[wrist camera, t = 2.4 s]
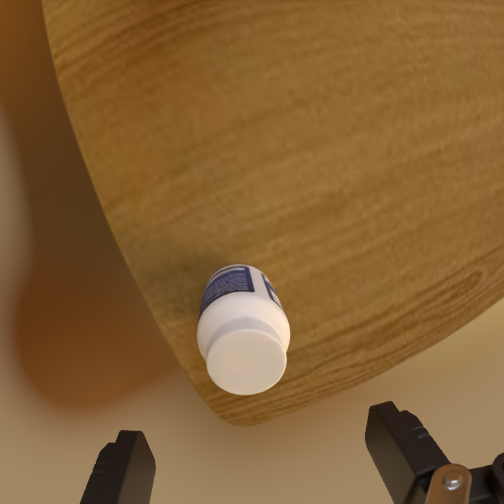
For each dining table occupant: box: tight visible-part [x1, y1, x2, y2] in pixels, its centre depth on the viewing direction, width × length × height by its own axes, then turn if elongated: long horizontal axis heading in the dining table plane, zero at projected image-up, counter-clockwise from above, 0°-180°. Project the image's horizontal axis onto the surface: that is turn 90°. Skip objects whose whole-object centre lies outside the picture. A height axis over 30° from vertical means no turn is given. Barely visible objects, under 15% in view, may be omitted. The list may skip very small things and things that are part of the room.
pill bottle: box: [197, 264, 290, 395], centre depth 20 cm, size 5×5×10 cm
